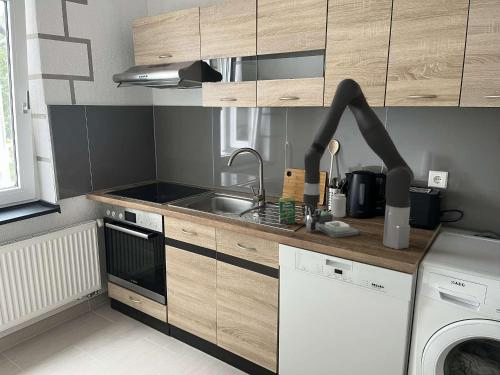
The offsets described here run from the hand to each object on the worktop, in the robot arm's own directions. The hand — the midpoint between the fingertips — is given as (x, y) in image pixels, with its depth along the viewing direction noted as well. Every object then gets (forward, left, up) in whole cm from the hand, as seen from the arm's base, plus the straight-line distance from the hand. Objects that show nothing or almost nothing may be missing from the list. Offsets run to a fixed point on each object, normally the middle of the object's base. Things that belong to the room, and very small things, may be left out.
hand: (310, 228), depth 170 cm
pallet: (+2, -12, -2) cm, 12 cm away
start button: (+9, -12, +1) cm, 15 cm away
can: (+18, -28, -2) cm, 33 cm away
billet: (0, 0, -2) cm, 2 cm away
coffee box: (+16, +4, -2) cm, 17 cm away
